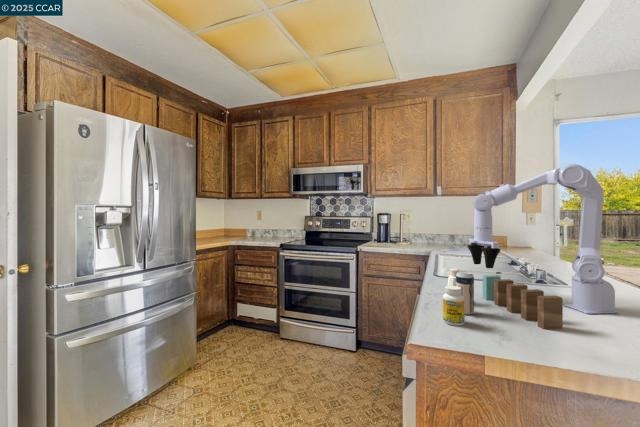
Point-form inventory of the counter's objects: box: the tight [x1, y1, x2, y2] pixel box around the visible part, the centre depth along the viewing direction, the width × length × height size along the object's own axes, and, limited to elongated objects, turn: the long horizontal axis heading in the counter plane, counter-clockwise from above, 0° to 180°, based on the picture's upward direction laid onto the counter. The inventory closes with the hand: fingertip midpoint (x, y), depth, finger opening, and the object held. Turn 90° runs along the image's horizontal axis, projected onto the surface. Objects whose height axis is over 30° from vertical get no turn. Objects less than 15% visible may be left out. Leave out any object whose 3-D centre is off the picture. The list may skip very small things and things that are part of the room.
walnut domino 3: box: [520, 288, 545, 321], centre depth 82 cm, size 2×5×8 cm, turn 92°
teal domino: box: [482, 274, 502, 301], centre depth 100 cm, size 2×5×8 cm, turn 93°
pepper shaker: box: [447, 268, 460, 286], centre depth 97 cm, size 5×5×11 cm
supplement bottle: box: [442, 285, 466, 327], centre depth 80 cm, size 5×5×10 cm
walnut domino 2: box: [506, 283, 529, 314], centre depth 88 cm, size 2×5×8 cm, turn 92°
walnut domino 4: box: [537, 294, 564, 330], centre depth 76 cm, size 2×5×8 cm, turn 92°
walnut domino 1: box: [493, 278, 514, 307], centre depth 94 cm, size 2×5×8 cm, turn 92°
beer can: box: [456, 270, 475, 316], centre depth 87 cm, size 5×5×12 cm
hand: (483, 266), depth 105 cm, fingers open, 7 cm apart
